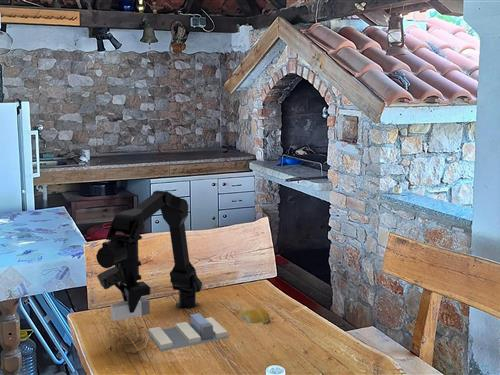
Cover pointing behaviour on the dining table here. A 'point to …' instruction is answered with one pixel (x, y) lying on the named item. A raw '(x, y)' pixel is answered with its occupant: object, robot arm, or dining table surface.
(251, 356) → the dining table surface
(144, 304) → the grey white bar
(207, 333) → the grey rectangular bar
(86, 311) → the dining table surface
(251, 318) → the bread roll
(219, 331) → the rack
